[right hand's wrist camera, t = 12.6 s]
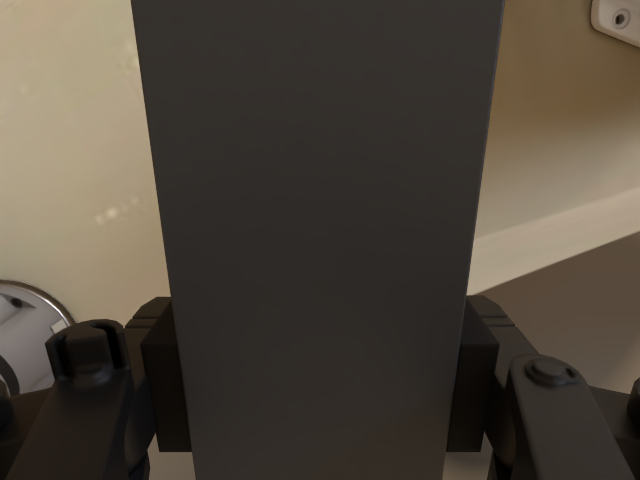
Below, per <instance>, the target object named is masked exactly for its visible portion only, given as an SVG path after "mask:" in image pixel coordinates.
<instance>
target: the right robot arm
mask: <svg viewBox="0 0 640 480" xmlns="http://www.w3.org/2000/svg"><path fill="white" fill-rule="evenodd" d="M484 431H485V433H486V435H487V437H488V439H489V441H490V444H491V446H492V448H493V452H492V457H491V462H490V467H489V472H488V477H487V480H640V378H639V379H637V380H636V381H635V382H634V385H633V388H632V391H631V394H626V393H621V392H616V391H611V390H606V389H601V388H596V387H593V386H589V385H588V384H587V382H586V380H585V379H584V378H583V377H582V375H581V374H580V373H579V372H578V371H577V370H576V369H574V368H573V367H571V366H570V365H568V364H567V363H565V362H563V361H560V360H558V359H556V358H554V357H550V356H546V355H542V354H539V353H538V352H537V350H536V349H535V348H534V347H533V346H532V345H531V343H530V342H529V341H528V340H527V338H526V337H525V336H524V335H523V334H522V333H521V331H520V330H519V329H518V328H517V327H515V324H514V323H513V322H512V321H511V319H510V318H508V317H507V315H506V313H505V312H504V311H503V310H502V309H501V307H500V306H499V305H498V304H496V303H495V302H493V301H491V300H490V299H488V298H486V297H485V296H466V301H465V309H464V317H463V324H462V332H461V340H460V347H459V355H458V362H457V370H456V378H455V385H454V393H453V401H452V408H451V416H450V424H449V431H448V439H447V446H446V452H480V451H481V446H482V440H483V434H484ZM155 433H156V436H157V442H158V447H159V452H192V447H191V440H190V433H189V425H188V418H187V411H186V403H185V396H184V389H183V381H182V374H181V367H180V359H179V352H178V344H177V337H176V330H175V322H174V315H173V308H172V300H171V297H156V298H154V299H152V300H151V301H149V302H148V303H146V304H144V305H143V306H141V307H140V309H139V310H138V311H137V312H136V313H135V315H134V316H133V318H132V319H131V320H130V321H129V322H128V323H127V324H126V326H125V329H123V326H122V325H121V324H120V323H119V322H117V321H113V320H108V319H97V320H89V321H85V322H80V323H77V324H75V322H74V320H73V318H72V317H71V316H70V314H69V313H68V312H67V310H66V309H65V308H64V307H63V306H62V305H61V304H60V303H59V302H58V301H56V300H55V299H54V298H52V297H51V296H50V295H48V294H47V293H45V292H43V291H41V290H39V289H37V288H35V287H33V286H30V285H27V284H24V283H20V282H14V281H2V280H0V480H149V473H150V463H149V457H148V452H147V449H148V447H149V445H150V443H151V441H152V439H153V437H154V435H155Z"/></svg>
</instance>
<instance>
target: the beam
mask: <svg viewBox="0 0 640 480" xmlns="http://www.w3.org/2000/svg"><path fill="white" fill-rule="evenodd" d="M504 4H505V0H131V6H132V13H133V21H134V28H135V35H136V43H137V50H138V58H139V65H140V72H141V80H142V87H143V94H144V102H145V109H146V116H147V124H148V131H149V138H150V146H151V153H152V161H153V168H154V175H155V183H156V190H157V197H158V205H159V212H160V219H161V227H162V234H163V241H164V249H165V256H166V264H167V271H168V278H169V286H170V293H171V300H172V308H173V315H174V322H175V330H176V337H177V344H178V352H179V359H180V367H181V374H182V381H183V389H184V396H185V403H186V411H187V418H188V425H189V433H190V440H191V447H192V455H193V462H194V469H195V477H196V480H442V477H443V469H444V462H445V454H446V446H447V439H448V431H449V424H450V416H451V408H452V401H453V393H454V385H455V378H456V370H457V362H458V355H459V347H460V340H461V332H462V324H463V317H464V309H465V301H466V294H467V286H468V279H469V271H470V263H471V256H472V248H473V240H474V233H475V225H476V217H477V210H478V202H479V195H480V187H481V179H482V172H483V164H484V156H485V149H486V141H487V133H488V126H489V118H490V111H491V103H492V95H493V88H494V80H495V72H496V65H497V57H498V49H499V42H500V34H501V27H502V19H503V11H504Z"/></svg>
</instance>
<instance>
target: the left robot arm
mask: <svg viewBox="0 0 640 480" xmlns="http://www.w3.org/2000/svg"><path fill="white" fill-rule="evenodd" d="M617 16H618V17H619V22H618V24H616V22H615V19H616V17H617ZM591 23H592V26H593V27H594V28H595V29H596V30H598V31H600V32H602V33H605V34H607V35H610V36H612V37H615V38H617V39H620V40H622V41H624V42H627V43H629V44H632V45H634V46H637V47H639V48H640V0H593V1H592V7H591Z"/></svg>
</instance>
